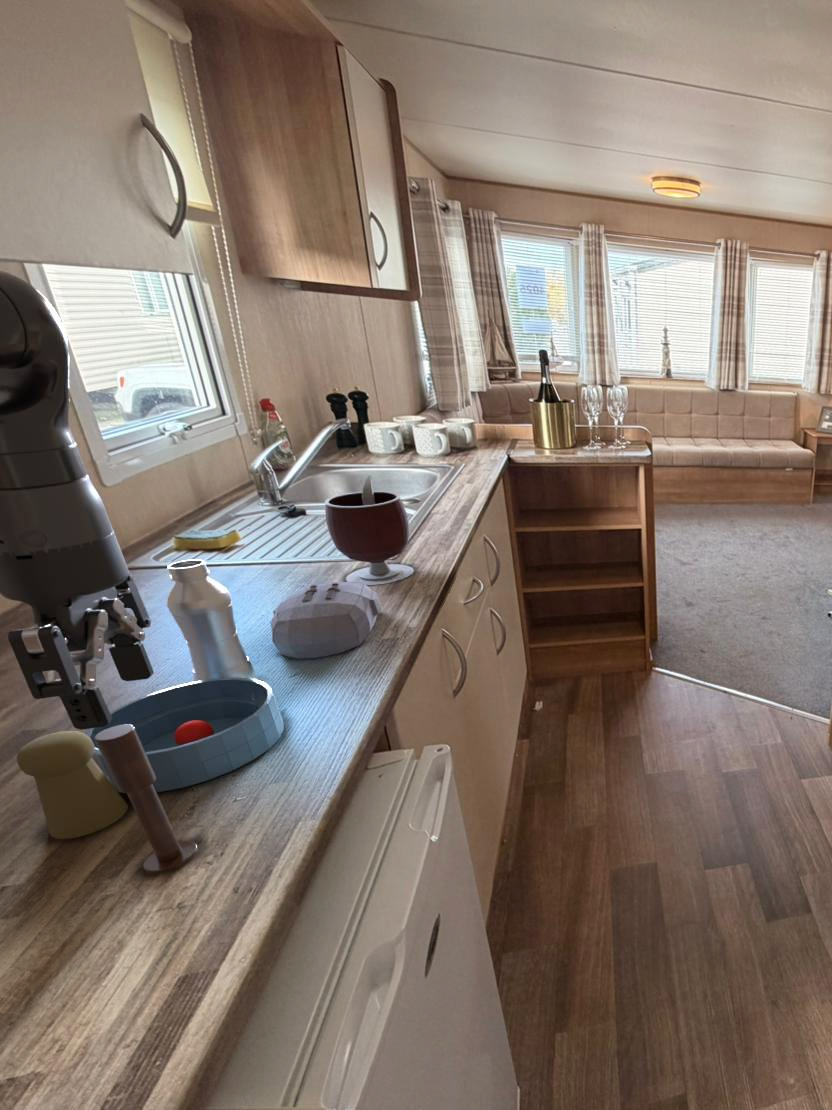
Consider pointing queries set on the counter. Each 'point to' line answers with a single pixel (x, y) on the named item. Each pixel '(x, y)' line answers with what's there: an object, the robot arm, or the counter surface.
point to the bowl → (225, 703)
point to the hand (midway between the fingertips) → (118, 700)
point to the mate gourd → (370, 532)
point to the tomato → (193, 732)
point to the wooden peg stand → (143, 797)
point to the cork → (71, 784)
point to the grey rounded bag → (324, 619)
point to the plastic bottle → (207, 623)
